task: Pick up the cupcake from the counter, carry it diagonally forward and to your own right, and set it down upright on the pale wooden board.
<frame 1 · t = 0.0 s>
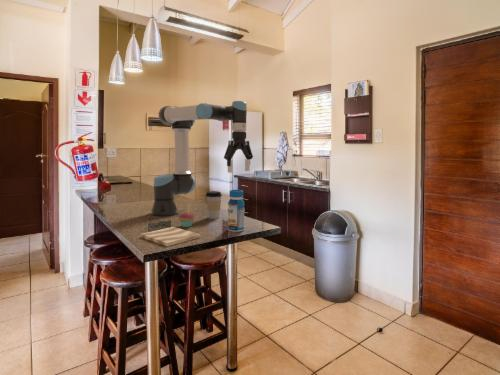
hand: (238, 171, 173), 28 cm above the breakfast bar counter, tool pointing down, fingers open, 13 cm apart
cupcake: (186, 226, 169), on the breakfast bar counter
beverage bottle: (236, 230, 163), on the breakfast bar counter
serving board: (170, 237, 148), on the breakfast bar counter
coffee cup: (213, 218, 189), on the breakfast bar counter
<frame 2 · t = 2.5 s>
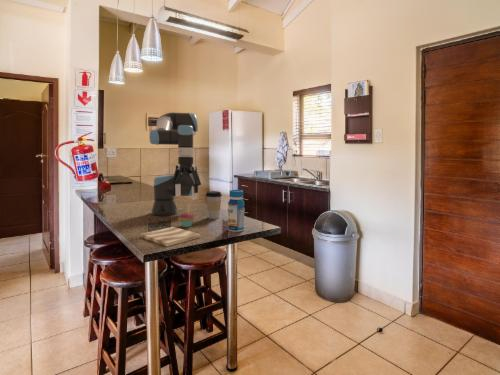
hand: (186, 197, 167), 15 cm above the breakfast bar counter, tool pointing down, fingers open, 13 cm apart
nothing on the breakfast bar counter moved.
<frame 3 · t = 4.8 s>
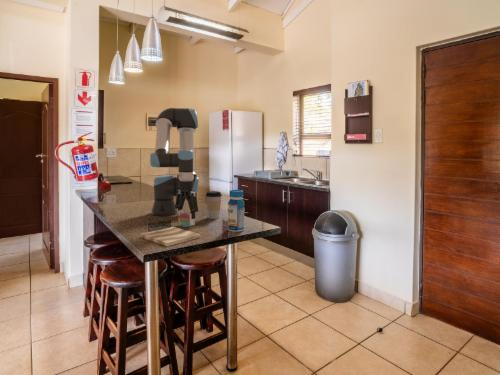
hand: (186, 223, 169), 1 cm above the breakfast bar counter, tool pointing down, fingers closed on cupcake, 8 cm apart
cupcake: (186, 226, 169), on the breakfast bar counter, touching gripper
everything else where it was.
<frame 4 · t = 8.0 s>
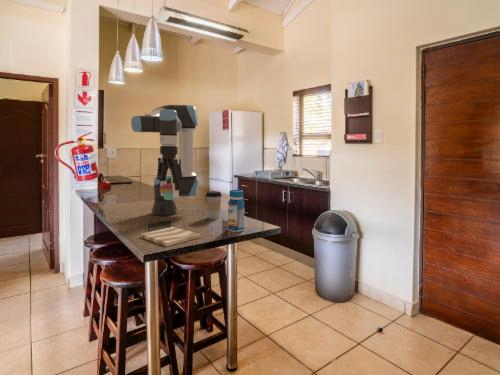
hand: (169, 196, 146), 19 cm above the breakfast bar counter, tool pointing down, fingers closed on cupcake, 8 cm apart
cupcake: (169, 199, 146), point 17 cm above the breakfast bar counter, touching gripper
everything else where it was.
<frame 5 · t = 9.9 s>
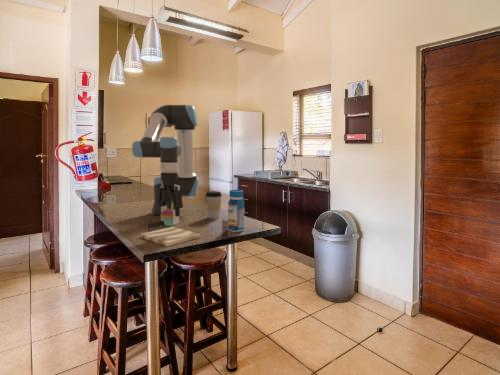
hand: (170, 221, 147), 7 cm above the breakfast bar counter, tool pointing down, fingers closed on cupcake, 8 cm apart
cupcake: (170, 224, 147), point 6 cm above the breakfast bar counter, touching gripper
everything else where it was.
when the fingers open (4 cm above the breakfast bar counter, at t = 11.5 s): cupcake drops 1 cm, resting on serving board.
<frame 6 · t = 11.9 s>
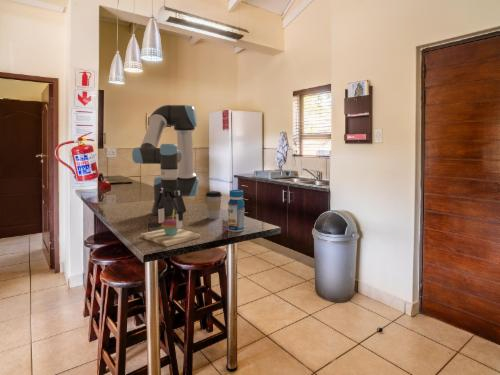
hand: (170, 225, 148), 6 cm above the breakfast bar counter, tool pointing down, fingers open, 13 cm apart
cupcake: (171, 234, 148), point 1 cm above the breakfast bar counter, touching serving board
everything else where it was.
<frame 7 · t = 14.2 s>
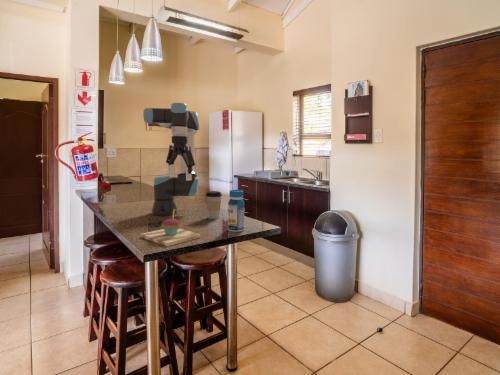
hand: (180, 178, 161), 25 cm above the breakfast bar counter, tool pointing down, fingers open, 13 cm apart
nothing on the breakfast bar counter moved.
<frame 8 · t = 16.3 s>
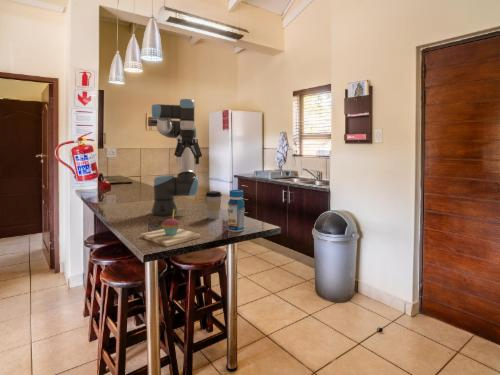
hand: (187, 169, 174), 29 cm above the breakfast bar counter, tool pointing down, fingers open, 13 cm apart
nothing on the breakfast bar counter moved.
at the end: cupcake inside the target area on the serving board (0.5 cm from its centre), point 1.3 cm above the serving board's base; cupcake tilted 0°; the gripper is holding nothing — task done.
